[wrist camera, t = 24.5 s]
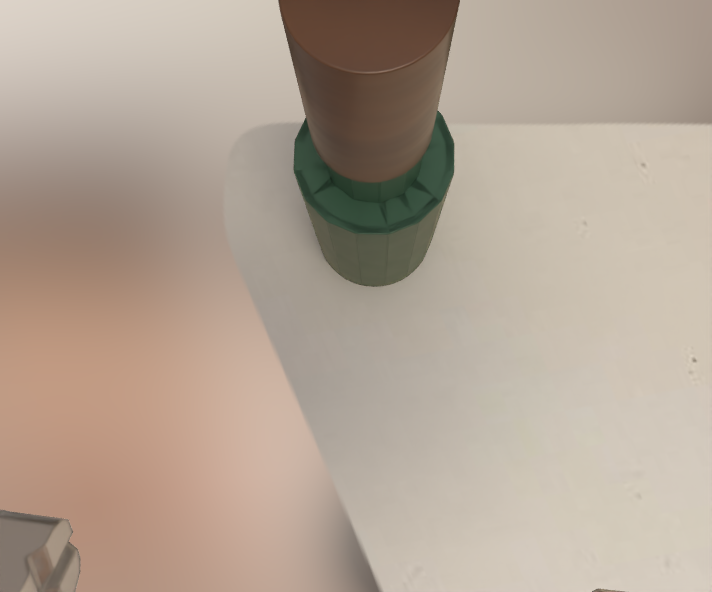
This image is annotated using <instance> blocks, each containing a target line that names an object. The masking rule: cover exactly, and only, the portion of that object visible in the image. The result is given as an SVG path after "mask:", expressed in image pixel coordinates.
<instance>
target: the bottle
mask: <svg viewBox="0 0 712 592" xmlns="http://www.w3.org/2000/svg"><path fill="white" fill-rule="evenodd" d="M294 174H295V176H296V179H297V182H298V185H299V188H300V190H301V193H302V196H303V199H304V202H305V205H306V207H307V210H308V213H309V216H310V219H311V221H312V224H313V227H314V230H315V233H316V236H317V238H318V241H319V244H320V246H321V249H322V252H323V254H324V257H325V259H326V260H327V261H328V263H329V264H330V265H331V267H332V268H333V269H334V270H335V271H336V272H337V273H338V274H340V275H341V276H342V277H344V278H345V279H347V280H349V281H351V282H354V283H356V284H360V285H364V286H373V287H374V286H385V285H389V284H393V283H396V282H398V281H400V280H402V279H404V278H405V277H407V276H408V275H410V274H411V273H412V272H413V271H414V270H415V269H416V268H417V267H418V266H419V264H420V263H421V262H422V261H423V259H424V257H425V255H426V252H427V250H428V247H429V245H430V243H431V240H432V237H433V234H434V231H435V228H436V225H437V222H438V219H439V216H440V213H441V210H442V207H443V204H444V201H445V198H446V195H447V192H448V189H449V186H450V184H451V181H452V178H453V175H454V141H453V139H452V137H451V134H450V132H449V130H448V127H447V125H446V123H445V120H444V118H443V116H442V115H441V113H440V112H439V111H438V110H437V114H436V119H435V123H434V128H433V133H432V138H431V141H430V144H429V146H428V148H427V150H426V152H425V154H424V155H423V157H422V158H421V160H420V161H419V162H418V163H417V164H416V165H415V166H414V167H413V168H411V169H410V170H409V171H407V172H406V173H404V174H403V175H401V176H398V177H396V178H394V179H391V180H388V181H383V182H375V183H367V182H359V181H354V180H351V179H348V178H346V177H343V176H341V175H339V174H338V173H336V172H335V171H333V170H332V169H331V168H330V167H328V166H327V165H326V164H325V163H324V161H323V160H322V159H321V158H320V156H319V155H318V153H317V151H316V149H315V147H314V145H313V142H312V139H311V135H310V131H309V127H308V123H307V119H306V118H305V120H304V123H303V125H302V127H301V129H300V131H299V133H298V135H297V137H296V139H295V148H294Z"/></svg>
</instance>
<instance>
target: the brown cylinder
mask: <svg viewBox="0 0 712 592" xmlns="http://www.w3.org/2000/svg"><path fill="white" fill-rule="evenodd" d="M459 3H460V0H279V7H280V12H281V17H282V21H283V25H284V29H285V33H286V37H287V41H288V44H289V49H290V53H291V57H292V61H293V66H294V69H295V74H296V78H297V82H298V86H299V90H300V94H301V98H302V102H303V106H304V111H305V115H306V119H307V123H308V127H309V131H310V135H311V139H312V142H313V145H314V147H315V149H316V151H317V153H318V155H319V156H320V158H321V159H322V160H323V161H324V163H325V164H326V165H327V166H328V167H330V168H331V169H332V170H333V171H335V172H336V173H338V174H339V175H341V176H343V177H346V178H348V179H351V180H354V181H359V182H367V183H375V182H383V181H388V180H391V179H394V178H396V177H398V176H401V175H403V174H404V173H406V172H407V171H409V170H410V169H411V168H413V167H414V166H415V165H416V164H417V163H418V162H419V161H420V160H421V158H422V157H423V155H424V154H425V152H426V150H427V148H428V146H429V144H430V141H431V138H432V133H433V128H434V123H435V119H436V114H437V109H438V104H439V99H440V94H441V90H442V84H443V79H444V75H445V70H446V65H447V61H448V56H449V51H450V46H451V41H452V36H453V32H454V27H455V22H456V17H457V12H458V7H459Z"/></svg>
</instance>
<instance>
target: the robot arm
mask: <svg viewBox="0 0 712 592" xmlns="http://www.w3.org/2000/svg"><path fill="white" fill-rule="evenodd" d="M72 533H73V531H72V528H71V525H70V523H69V520H68V519H62V518H55V517H47V516H39V515H31V514H24V513H17V512H9V511H5V510H0V592H75V590H76V586H77V582H78V578H79V574H80V556H79V552H78V549H77V548H76V547H75V546H74V545H72V544H71V543H70V542H69V539H70V537H71V535H72ZM592 592H624V591H615V590H606V589H596V590H594V591H592Z"/></svg>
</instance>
